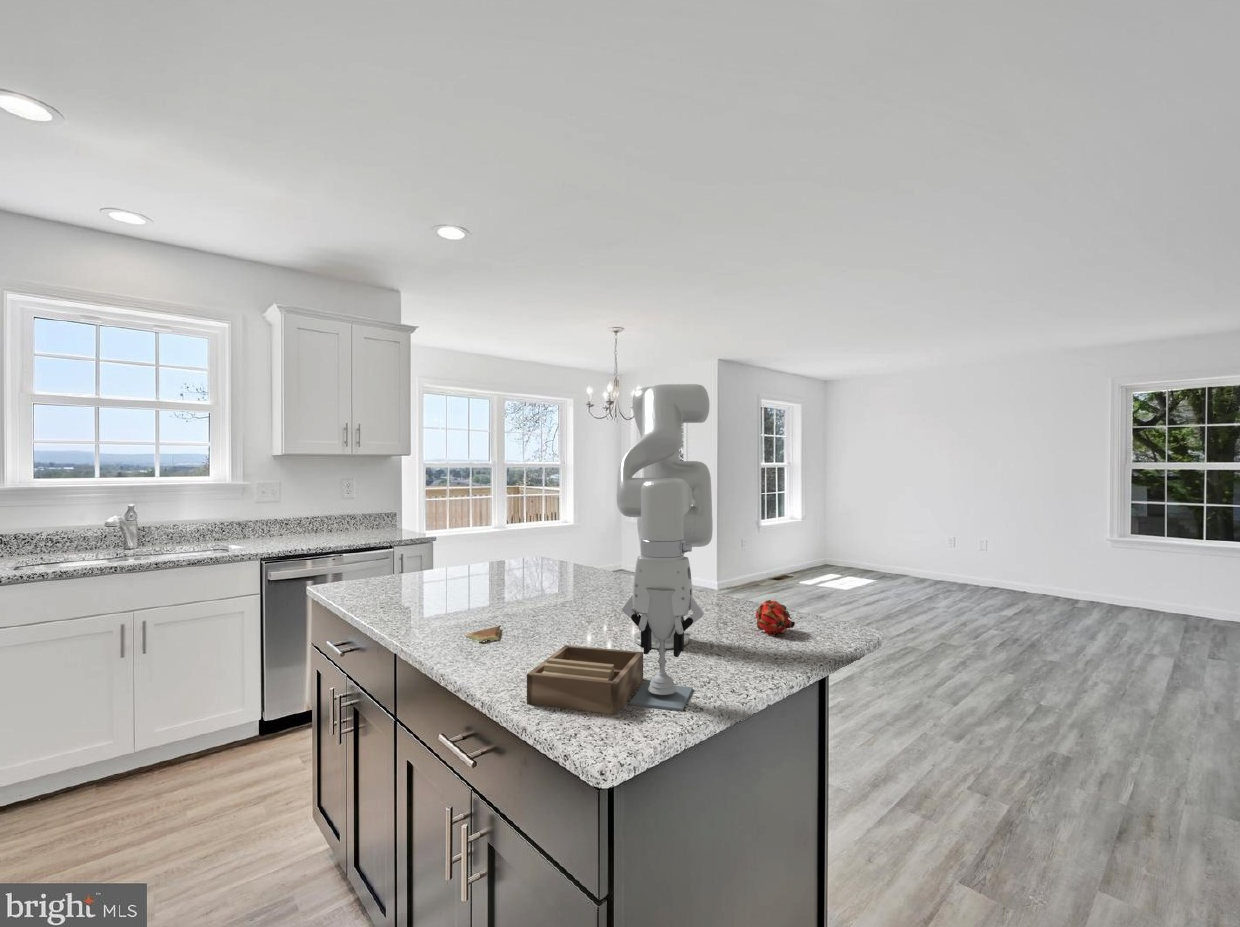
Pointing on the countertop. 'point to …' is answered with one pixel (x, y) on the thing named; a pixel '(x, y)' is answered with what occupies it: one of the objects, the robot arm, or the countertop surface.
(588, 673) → the offcut stack
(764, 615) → the dragon fruit
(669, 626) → the chalice
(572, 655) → the frame
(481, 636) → the shard
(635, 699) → the mat
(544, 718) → the countertop surface
